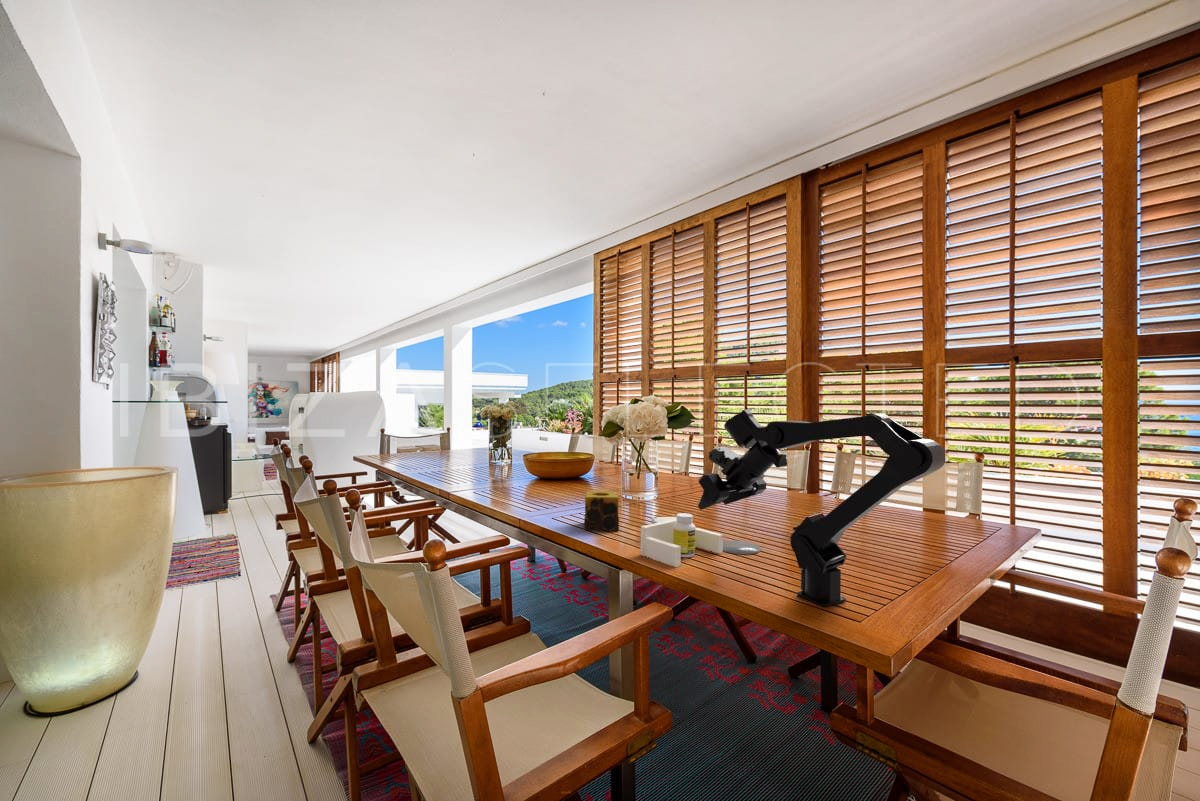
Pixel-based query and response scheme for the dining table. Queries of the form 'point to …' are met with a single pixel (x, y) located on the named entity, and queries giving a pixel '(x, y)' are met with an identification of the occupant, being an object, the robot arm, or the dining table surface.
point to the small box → (661, 519)
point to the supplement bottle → (684, 534)
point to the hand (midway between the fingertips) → (712, 505)
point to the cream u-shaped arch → (662, 548)
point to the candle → (601, 511)
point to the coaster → (740, 547)
